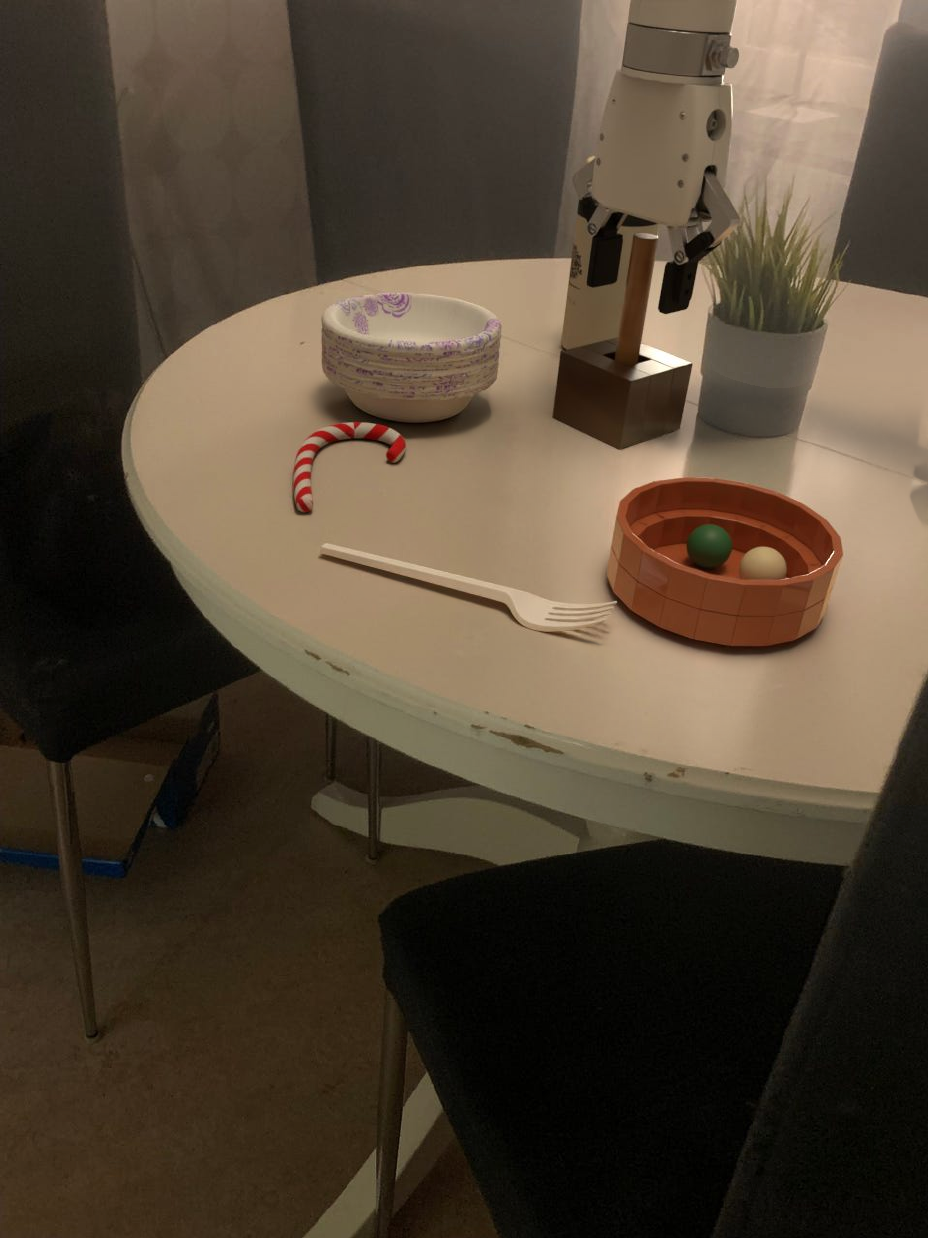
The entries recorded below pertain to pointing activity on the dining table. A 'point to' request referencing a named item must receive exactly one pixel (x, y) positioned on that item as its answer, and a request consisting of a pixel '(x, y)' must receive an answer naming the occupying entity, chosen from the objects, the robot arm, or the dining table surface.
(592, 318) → the travel mug
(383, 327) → the paper bowls
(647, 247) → the stick
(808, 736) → the dining table surface
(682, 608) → the bowl
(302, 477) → the candy cane
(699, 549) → the green bead
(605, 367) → the holder
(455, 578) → the fork
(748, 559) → the cream bead
